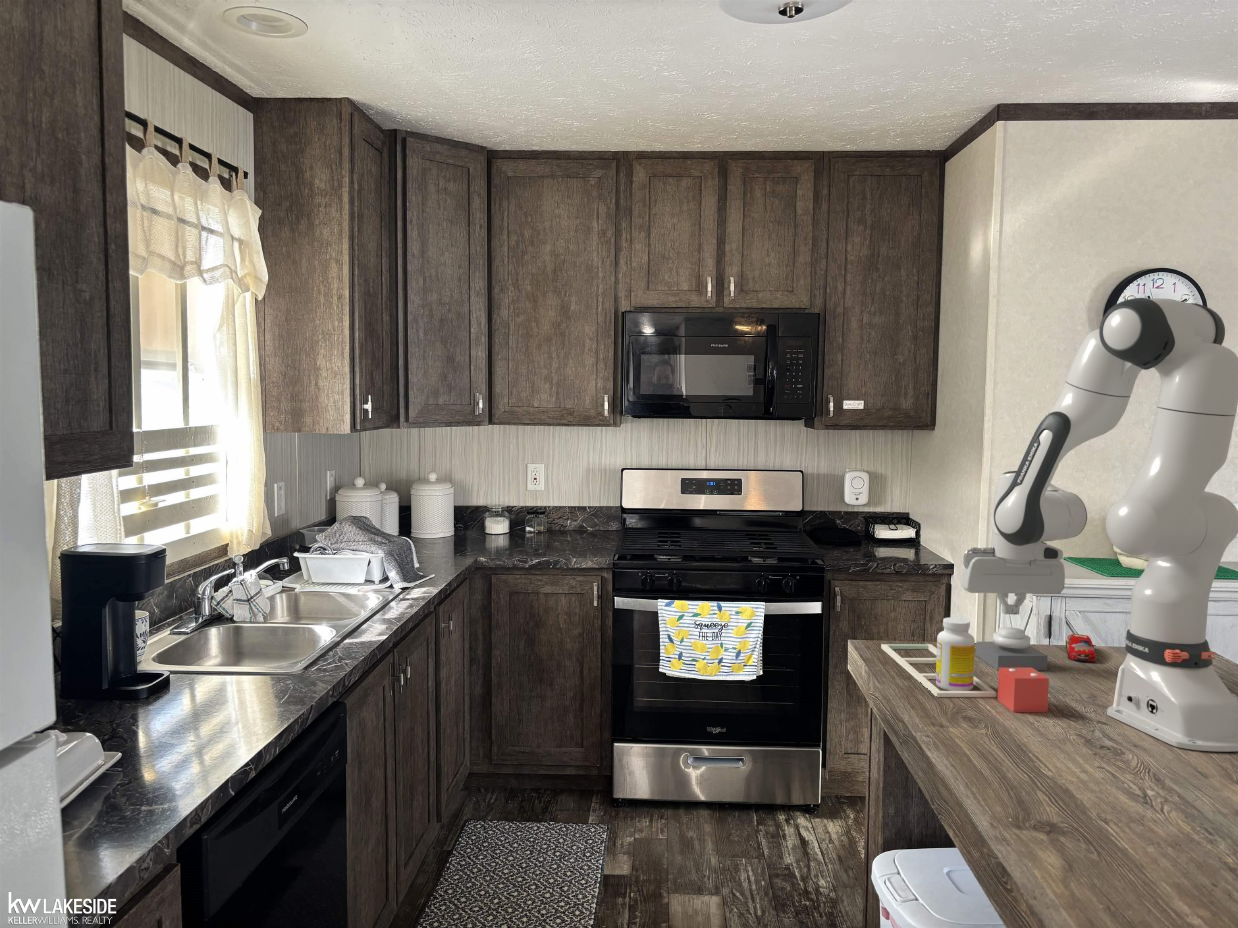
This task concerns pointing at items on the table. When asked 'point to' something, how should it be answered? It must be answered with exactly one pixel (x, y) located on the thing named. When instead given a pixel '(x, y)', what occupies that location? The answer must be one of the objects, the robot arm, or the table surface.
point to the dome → (1011, 638)
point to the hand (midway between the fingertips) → (1010, 613)
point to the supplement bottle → (955, 656)
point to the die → (1023, 689)
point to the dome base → (1011, 656)
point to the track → (923, 677)
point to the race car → (1080, 648)
